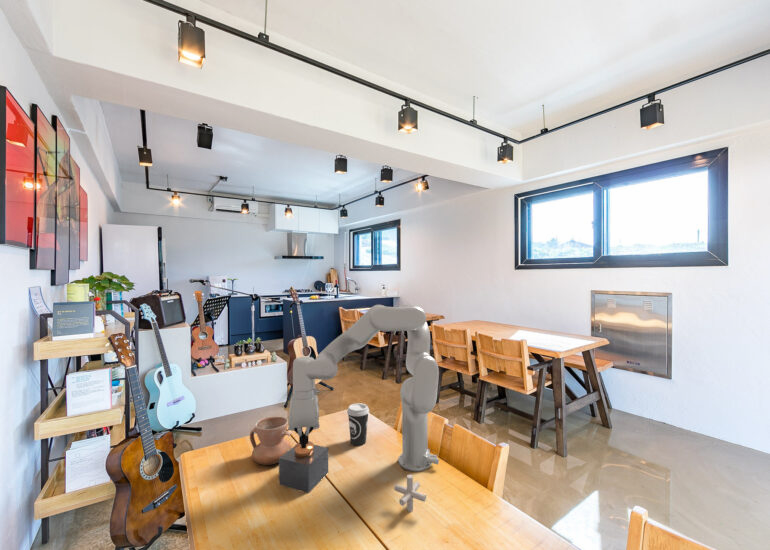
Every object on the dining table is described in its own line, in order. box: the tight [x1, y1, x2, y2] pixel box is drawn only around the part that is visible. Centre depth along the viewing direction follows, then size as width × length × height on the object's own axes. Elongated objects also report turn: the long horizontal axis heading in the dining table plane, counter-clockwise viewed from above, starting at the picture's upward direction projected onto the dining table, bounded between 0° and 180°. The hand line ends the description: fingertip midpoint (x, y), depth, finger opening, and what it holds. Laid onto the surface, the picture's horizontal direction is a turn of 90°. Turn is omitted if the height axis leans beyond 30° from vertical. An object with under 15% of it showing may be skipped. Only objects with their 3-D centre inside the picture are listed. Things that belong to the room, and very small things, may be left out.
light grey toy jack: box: [393, 474, 427, 512], centre depth 100 cm, size 10×10×10 cm
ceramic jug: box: [249, 416, 293, 466], centre depth 129 cm, size 18×14×14 cm
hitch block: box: [278, 444, 329, 494], centre depth 116 cm, size 12×12×9 cm
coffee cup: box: [346, 402, 370, 447], centre depth 141 cm, size 10×10×15 cm
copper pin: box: [294, 440, 315, 458], centre depth 116 cm, size 6×6×10 cm
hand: (303, 445), depth 116 cm, fingers closed
